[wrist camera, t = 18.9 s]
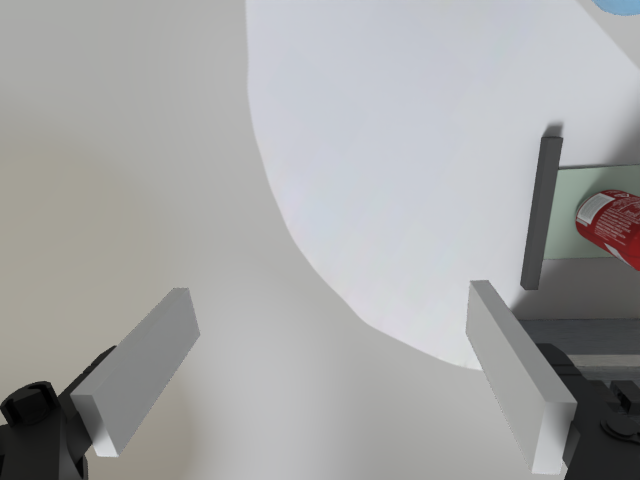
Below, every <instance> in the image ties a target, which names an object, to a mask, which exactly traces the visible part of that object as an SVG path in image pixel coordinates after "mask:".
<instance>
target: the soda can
mask: <svg viewBox="0 0 640 480" xmlns="http://www.w3.org/2000/svg"><path fill="white" fill-rule="evenodd" d="M575 227H576V230H577V231H578V233H579V234H580V235H581V236H582V237H584V238H585V239H587V240H589V241H590V242H592V243H594V244H595V245H597V246H598V247H600V248H602V249H603V250H605V251H607V252H608V253H610V254H611V255H613V256H615V257H616V258H618V259H620V260H621V261H623V262H624V263H626V264H628V265H629V266H631V267H633V268H634V269H636V270H637V271H639V272H640V197H638V196H635V195H633V194H630V193H627V192H624V191H621V190H616V189H608V190H603V191H600V192H597V193H595V194H593V195H591V196H590V197H588V198H587V199H586V200H585V201H584V202H583V203H582V204H581V205H580V207H579V208H578V210H577V212H576V215H575Z"/></svg>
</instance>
